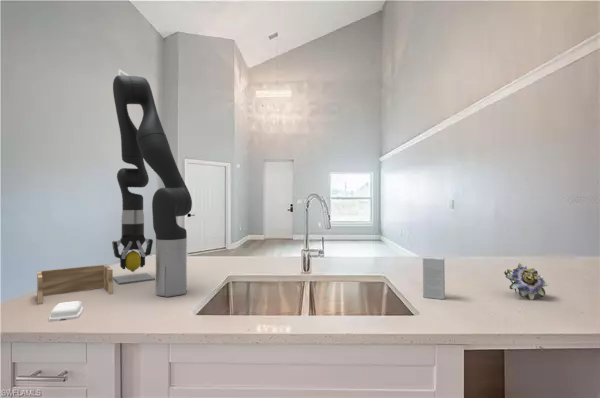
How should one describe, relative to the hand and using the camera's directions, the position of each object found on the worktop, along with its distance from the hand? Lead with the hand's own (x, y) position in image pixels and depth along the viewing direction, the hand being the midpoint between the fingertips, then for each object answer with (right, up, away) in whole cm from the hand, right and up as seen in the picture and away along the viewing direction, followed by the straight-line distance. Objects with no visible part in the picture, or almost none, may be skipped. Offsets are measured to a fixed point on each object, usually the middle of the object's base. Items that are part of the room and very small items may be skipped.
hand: (132, 267), depth 134 cm
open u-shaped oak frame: (-8, -4, -21) cm, 23 cm away
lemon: (0, -2, 0) cm, 2 cm away
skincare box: (+103, -4, -24) cm, 105 cm away
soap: (+2, -5, -41) cm, 41 cm away
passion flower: (+131, -5, -23) cm, 133 cm away
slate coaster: (0, -4, 0) cm, 4 cm away
